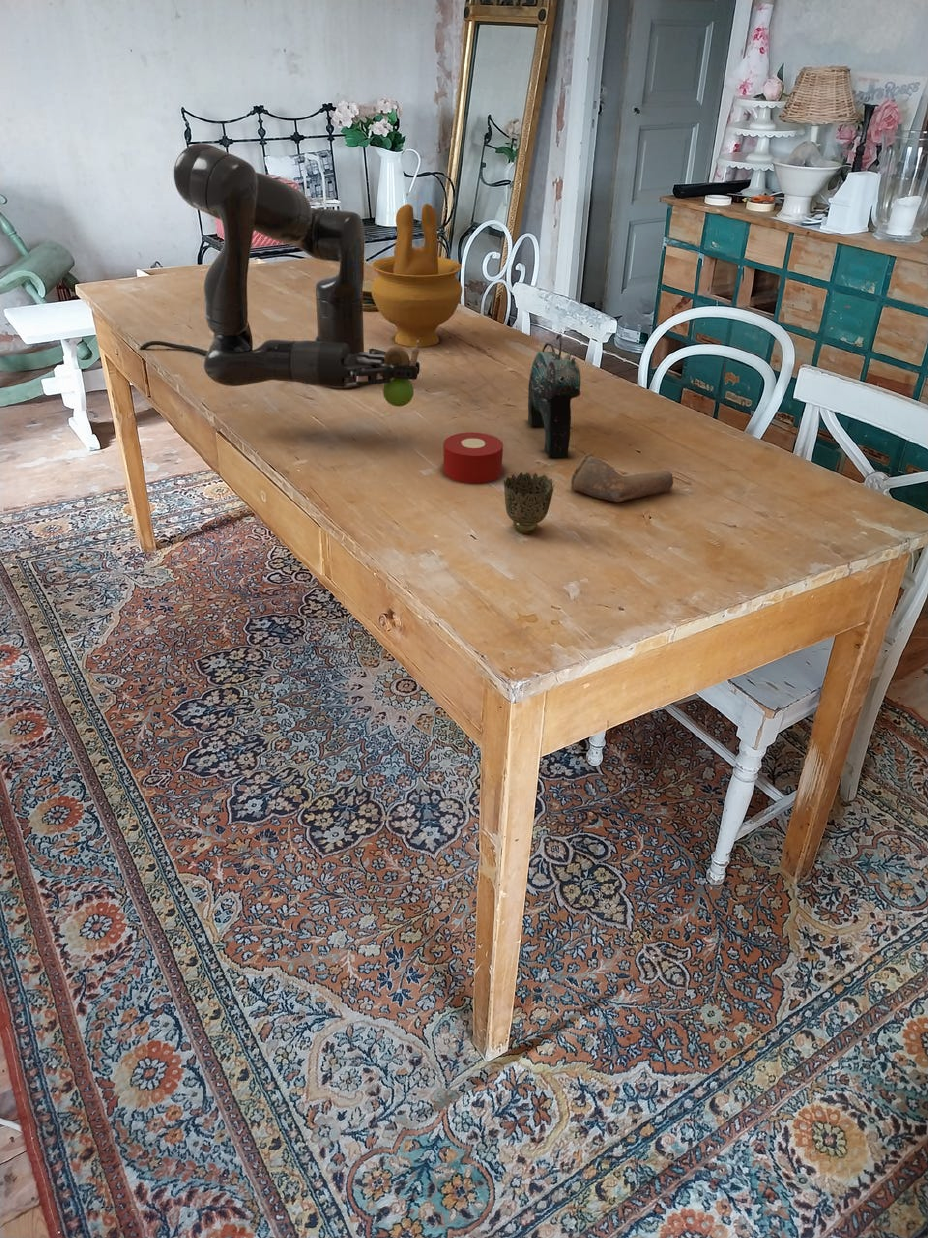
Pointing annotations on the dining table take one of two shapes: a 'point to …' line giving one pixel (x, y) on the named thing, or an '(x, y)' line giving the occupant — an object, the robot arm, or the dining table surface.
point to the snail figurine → (400, 389)
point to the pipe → (617, 481)
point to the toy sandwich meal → (368, 297)
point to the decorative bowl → (416, 282)
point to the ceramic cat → (553, 398)
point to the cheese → (472, 457)
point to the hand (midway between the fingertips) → (417, 370)
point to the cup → (527, 500)
